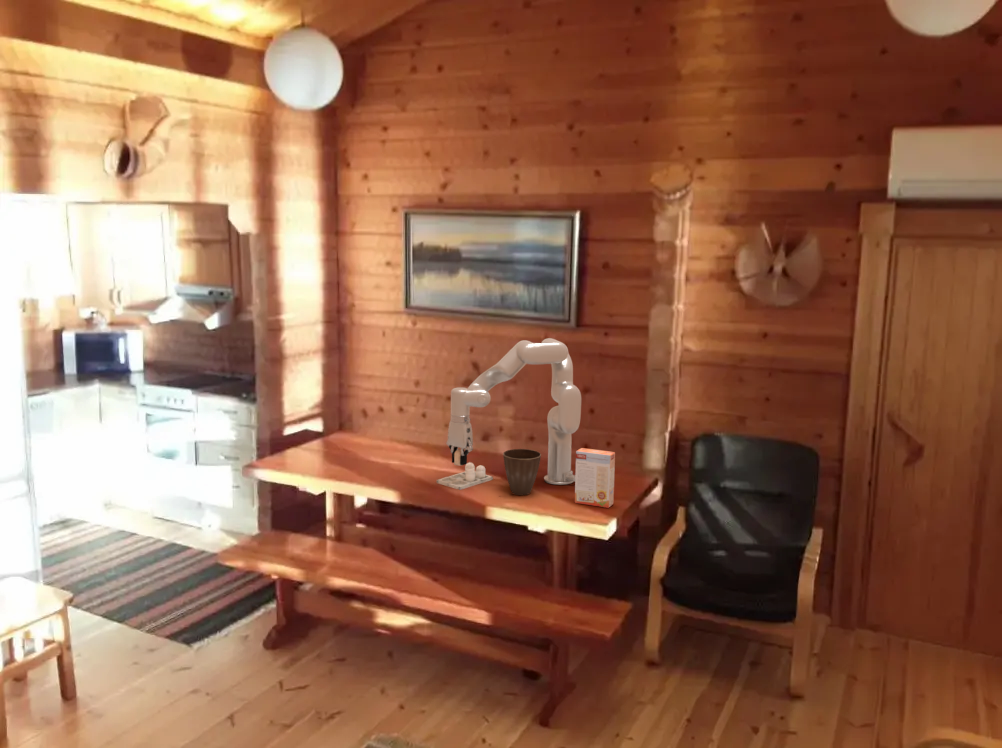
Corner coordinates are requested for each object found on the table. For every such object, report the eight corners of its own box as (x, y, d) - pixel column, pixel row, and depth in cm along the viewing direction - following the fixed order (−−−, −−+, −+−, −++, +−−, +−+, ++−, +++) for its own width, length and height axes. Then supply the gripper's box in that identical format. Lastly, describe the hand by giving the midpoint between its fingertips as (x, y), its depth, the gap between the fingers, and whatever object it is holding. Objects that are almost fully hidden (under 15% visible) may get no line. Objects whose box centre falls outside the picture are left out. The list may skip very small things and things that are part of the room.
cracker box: (613, 504, 334) (616, 451, 331) (608, 508, 329) (610, 455, 325) (579, 498, 341) (581, 446, 337) (574, 503, 335) (575, 450, 331)
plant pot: (539, 487, 354) (540, 449, 352) (540, 498, 340) (541, 459, 337) (502, 486, 354) (503, 448, 352) (502, 498, 340) (503, 458, 337)
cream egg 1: (476, 476, 364) (476, 462, 363) (470, 478, 361) (470, 464, 360) (469, 474, 367) (469, 460, 366) (463, 476, 364) (463, 462, 363)
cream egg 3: (487, 479, 360) (487, 465, 359) (480, 481, 357) (480, 467, 356) (480, 477, 363) (480, 463, 362) (473, 479, 360) (473, 465, 359)
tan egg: (466, 464, 350) (466, 449, 349) (459, 466, 347) (459, 451, 346) (459, 462, 352) (459, 447, 351) (452, 464, 349) (452, 449, 348)
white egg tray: (492, 481, 361) (492, 476, 360) (459, 492, 346) (459, 486, 346) (469, 475, 369) (469, 470, 369) (436, 485, 355) (436, 479, 355)
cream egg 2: (477, 482, 356) (477, 468, 355) (470, 484, 353) (470, 470, 352) (470, 480, 359) (470, 466, 357) (463, 482, 356) (463, 468, 355)
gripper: (481, 420, 344) (480, 465, 347) (451, 414, 355) (451, 457, 358) (468, 423, 338) (467, 469, 341) (438, 416, 349) (438, 461, 352)
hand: (459, 462), depth 350 cm, fingers closed on tan egg, 4 cm apart
